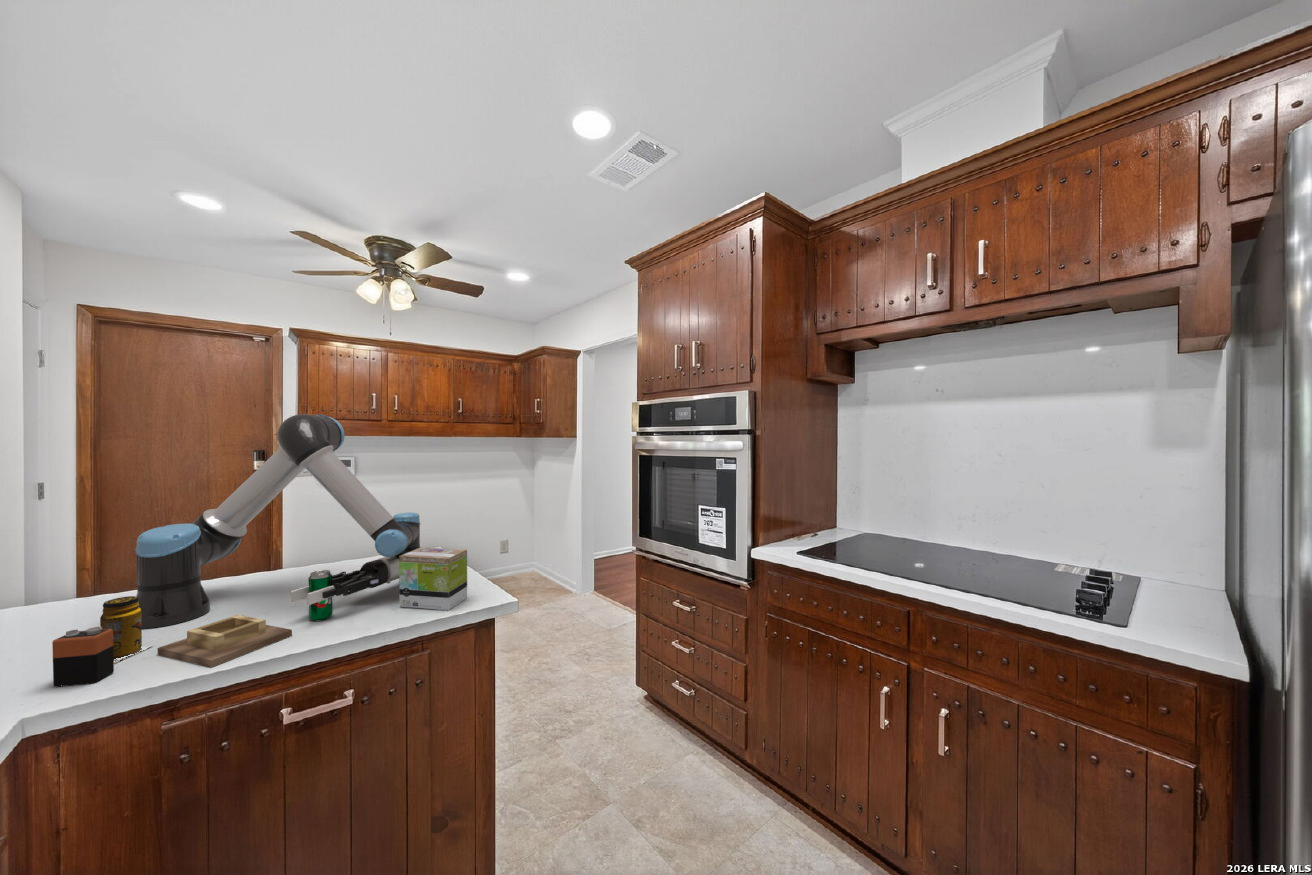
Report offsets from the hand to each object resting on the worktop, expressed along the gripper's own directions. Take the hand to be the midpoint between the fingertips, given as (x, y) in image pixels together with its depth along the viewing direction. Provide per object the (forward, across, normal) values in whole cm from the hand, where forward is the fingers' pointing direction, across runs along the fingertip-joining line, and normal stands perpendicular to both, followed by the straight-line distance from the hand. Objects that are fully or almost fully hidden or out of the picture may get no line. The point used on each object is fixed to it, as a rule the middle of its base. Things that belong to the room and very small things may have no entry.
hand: (300, 598), depth 120 cm
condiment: (+24, +22, -7) cm, 33 cm away
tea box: (-23, -20, -7) cm, 31 cm away
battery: (+32, +14, -7) cm, 35 cm away
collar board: (+13, +5, -7) cm, 15 cm away
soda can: (-5, 0, -7) cm, 9 cm away
